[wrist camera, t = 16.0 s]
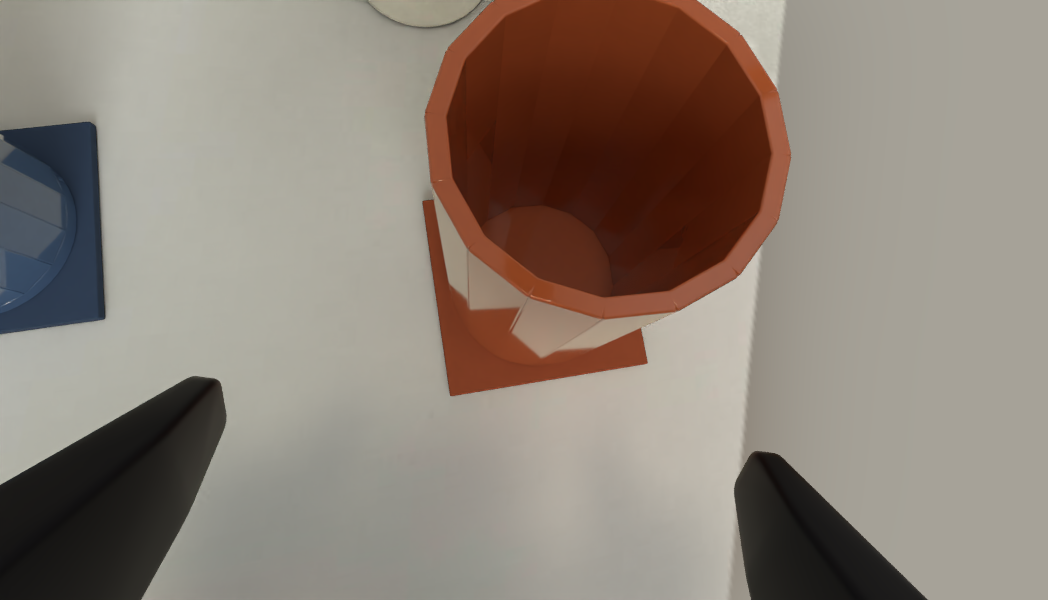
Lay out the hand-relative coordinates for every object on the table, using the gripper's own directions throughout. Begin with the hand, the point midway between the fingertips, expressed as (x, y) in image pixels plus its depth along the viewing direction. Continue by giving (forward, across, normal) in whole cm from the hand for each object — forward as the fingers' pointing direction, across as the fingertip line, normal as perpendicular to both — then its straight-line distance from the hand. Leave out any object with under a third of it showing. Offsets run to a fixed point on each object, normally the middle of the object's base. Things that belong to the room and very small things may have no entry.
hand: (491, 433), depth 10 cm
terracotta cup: (+13, -2, +5) cm, 14 cm away
